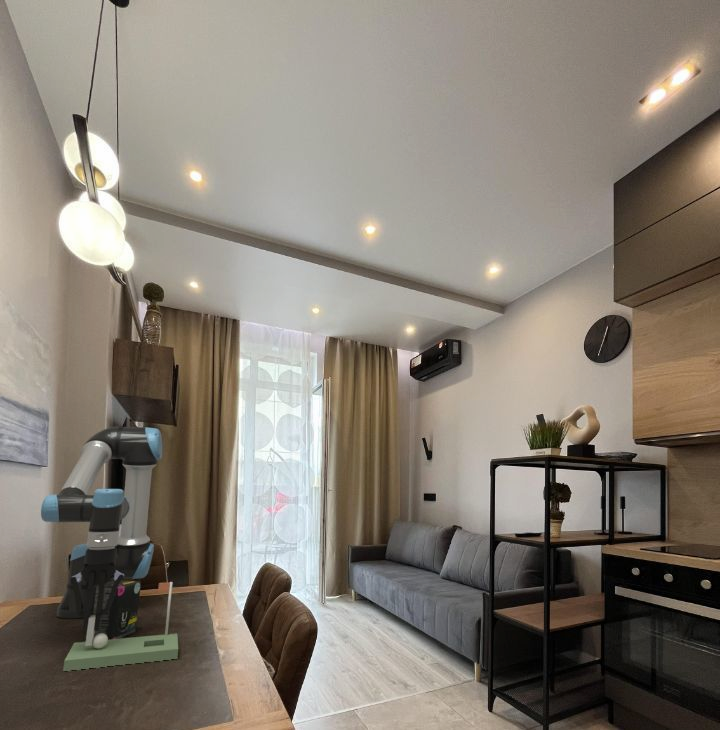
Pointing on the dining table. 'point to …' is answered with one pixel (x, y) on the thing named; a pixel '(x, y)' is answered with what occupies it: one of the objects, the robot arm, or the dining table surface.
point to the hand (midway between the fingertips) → (89, 644)
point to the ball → (100, 640)
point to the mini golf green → (126, 648)
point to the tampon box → (118, 609)
